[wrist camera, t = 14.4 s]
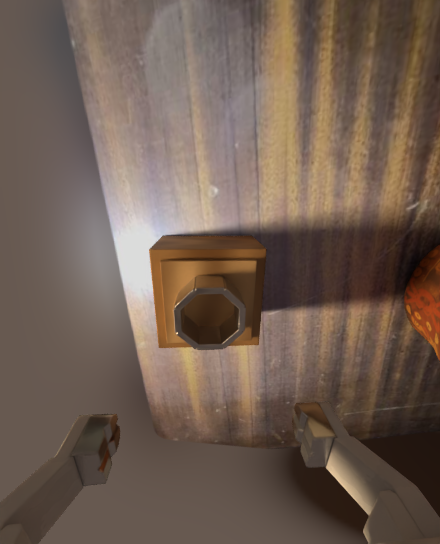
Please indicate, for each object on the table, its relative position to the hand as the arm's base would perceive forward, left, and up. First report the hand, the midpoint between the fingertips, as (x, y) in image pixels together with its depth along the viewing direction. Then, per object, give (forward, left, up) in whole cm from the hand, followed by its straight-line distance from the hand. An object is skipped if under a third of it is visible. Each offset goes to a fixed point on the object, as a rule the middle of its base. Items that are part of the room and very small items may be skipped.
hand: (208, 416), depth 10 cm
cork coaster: (0, -1, -13) cm, 13 cm away
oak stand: (0, -1, -20) cm, 20 cm away
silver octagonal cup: (0, -1, -12) cm, 12 cm away
